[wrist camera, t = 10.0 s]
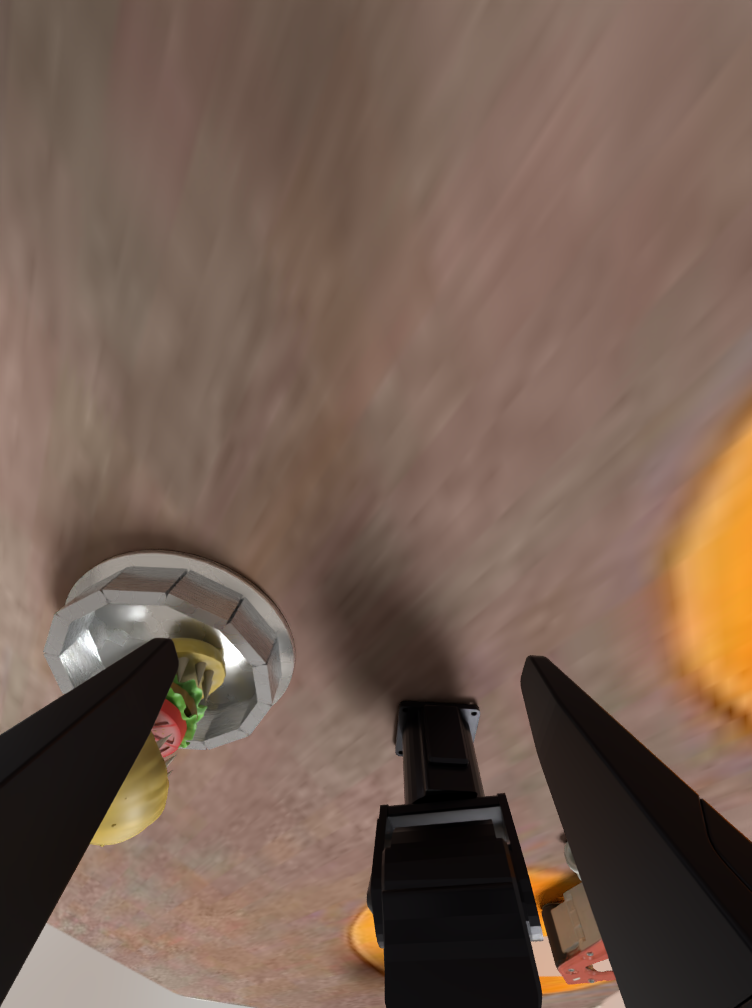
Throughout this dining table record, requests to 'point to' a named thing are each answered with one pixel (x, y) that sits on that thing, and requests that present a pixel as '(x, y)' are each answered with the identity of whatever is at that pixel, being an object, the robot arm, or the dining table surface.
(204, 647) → the hamburger
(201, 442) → the dining table surface
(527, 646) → the dining table surface
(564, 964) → the tape dispenser
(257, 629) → the collar
